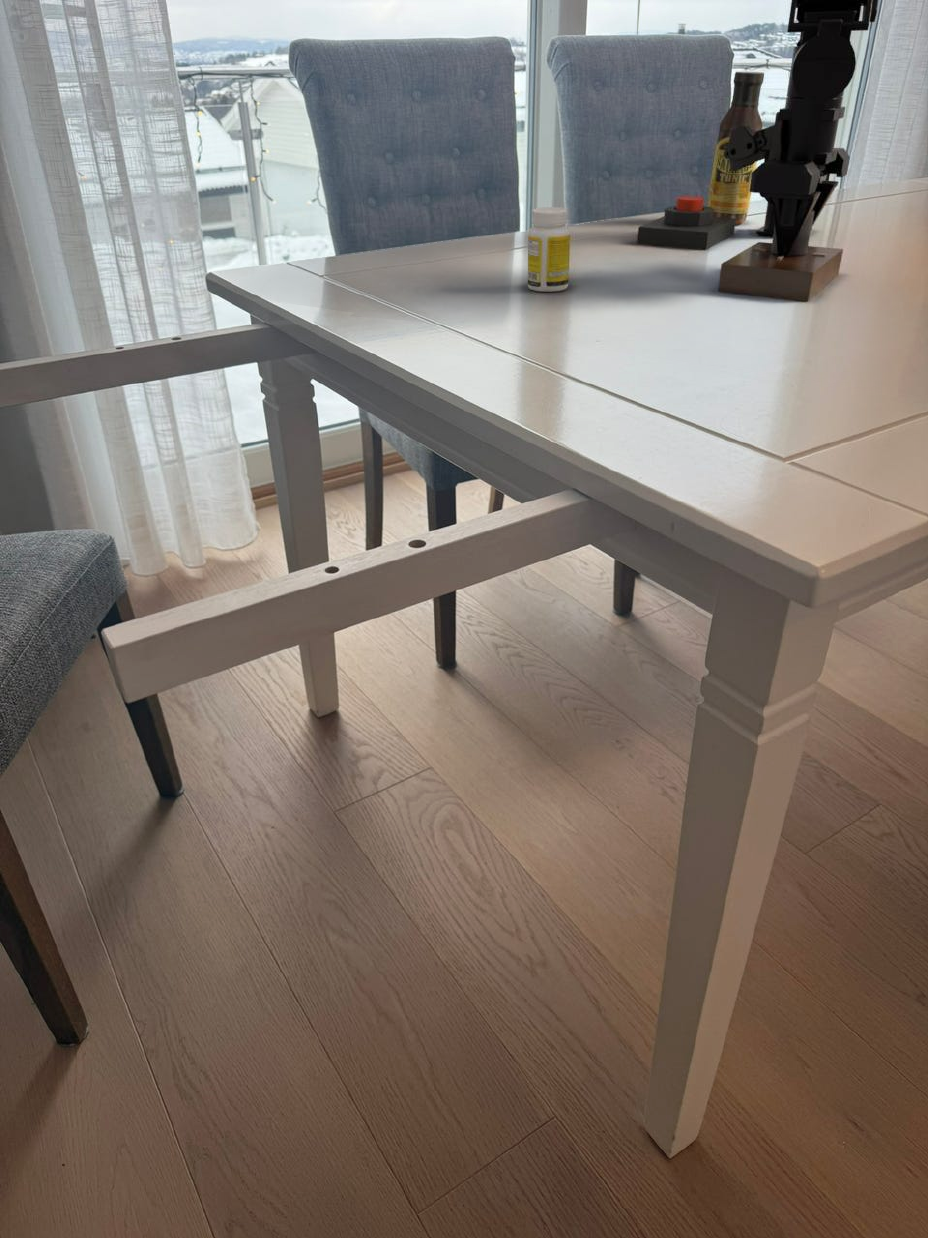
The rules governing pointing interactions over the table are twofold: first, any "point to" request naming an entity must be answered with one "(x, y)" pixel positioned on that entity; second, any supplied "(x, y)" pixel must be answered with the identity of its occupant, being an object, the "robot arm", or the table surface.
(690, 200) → the button
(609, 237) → the table surface
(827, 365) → the table surface
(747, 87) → the sauce bottle
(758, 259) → the knob panel
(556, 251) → the supplement bottle
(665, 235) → the button box
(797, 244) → the knob
